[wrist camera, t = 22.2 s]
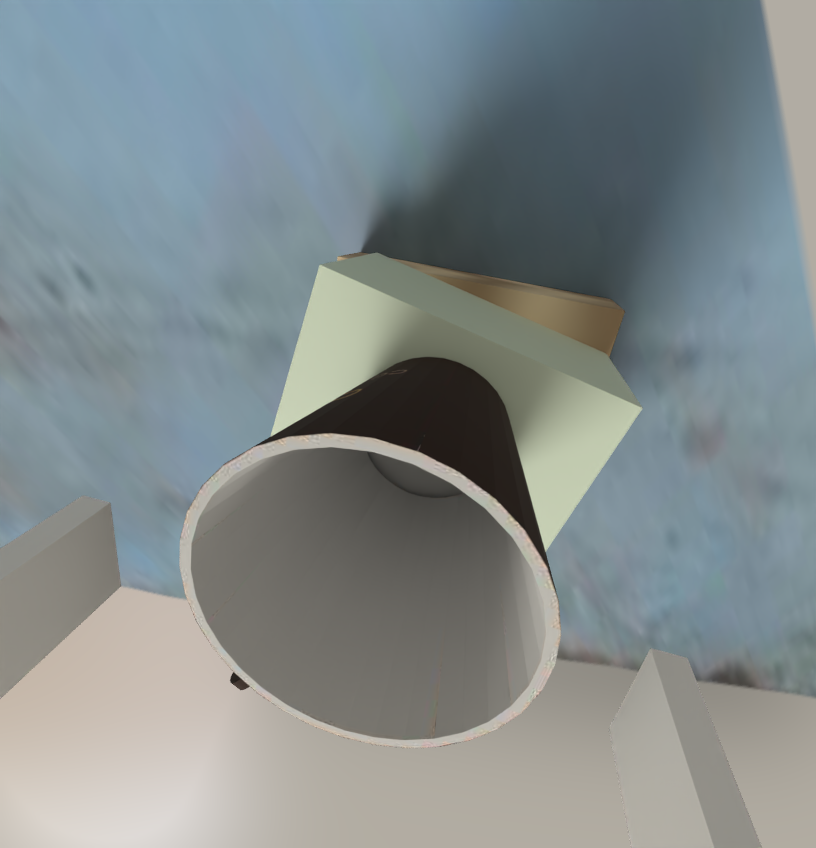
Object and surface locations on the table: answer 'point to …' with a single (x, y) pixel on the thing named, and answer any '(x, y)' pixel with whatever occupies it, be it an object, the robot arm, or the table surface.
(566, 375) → the sage brick
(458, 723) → the coffee mug
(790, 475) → the table surface
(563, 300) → the oak block
